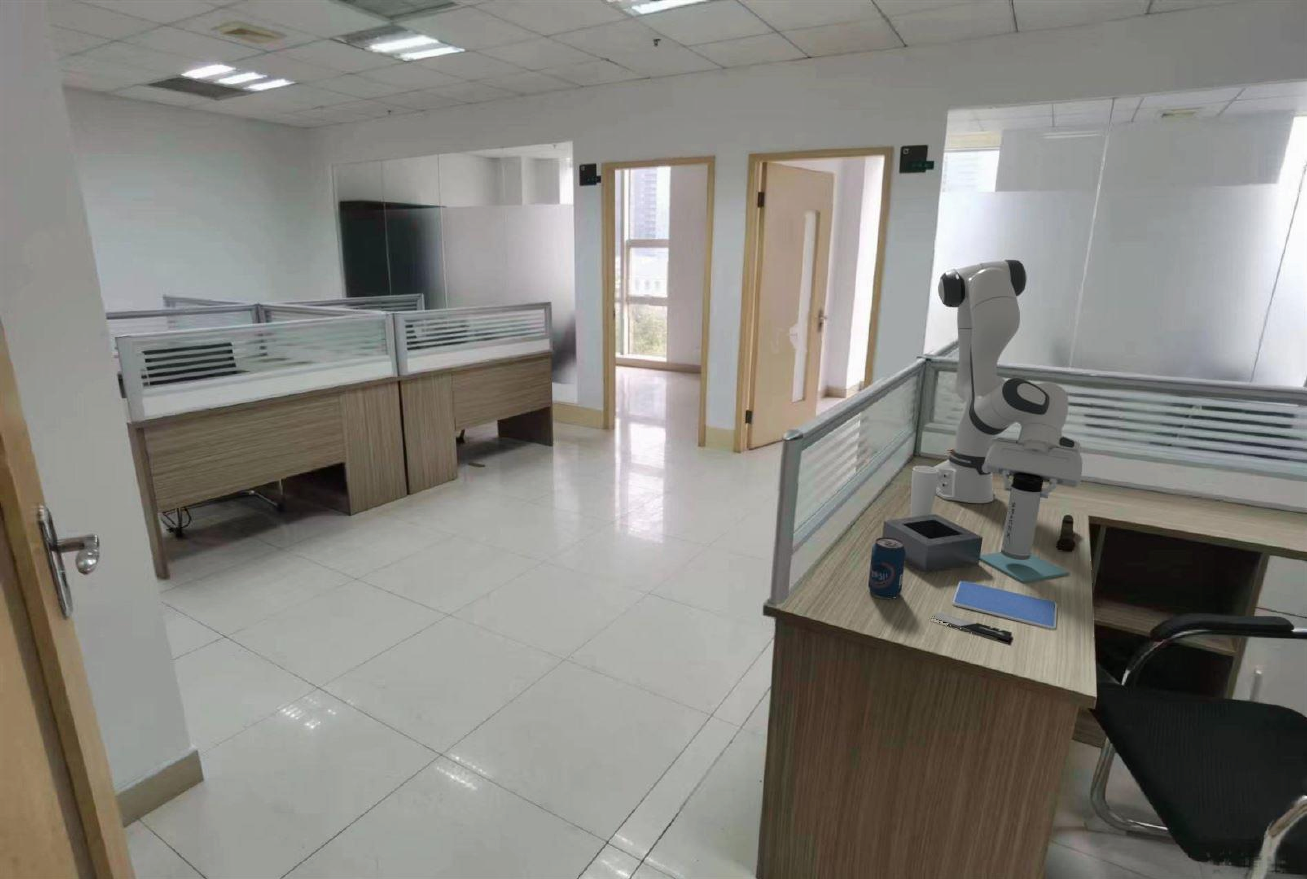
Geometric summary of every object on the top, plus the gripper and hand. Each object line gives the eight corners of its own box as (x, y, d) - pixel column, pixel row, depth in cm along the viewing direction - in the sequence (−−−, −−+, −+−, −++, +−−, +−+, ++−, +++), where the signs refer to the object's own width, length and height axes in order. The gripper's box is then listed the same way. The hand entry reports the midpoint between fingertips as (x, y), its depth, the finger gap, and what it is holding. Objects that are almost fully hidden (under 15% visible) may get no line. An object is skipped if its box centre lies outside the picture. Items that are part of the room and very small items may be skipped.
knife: (930, 618, 138) (935, 610, 141) (929, 623, 138) (934, 615, 141) (1010, 642, 130) (1014, 633, 133) (1010, 646, 130) (1013, 637, 133)
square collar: (881, 546, 174) (883, 521, 172) (932, 538, 179) (935, 513, 177) (924, 573, 159) (927, 545, 157) (978, 564, 164) (982, 537, 162)
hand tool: (1073, 554, 170) (1076, 537, 169) (1055, 550, 173) (1058, 533, 171) (1077, 531, 186) (1080, 515, 184) (1061, 527, 188) (1063, 511, 187)
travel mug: (1026, 551, 165) (1040, 472, 160) (1032, 562, 158) (1046, 479, 154) (998, 547, 166) (1011, 469, 162) (1002, 557, 160) (1016, 476, 156)
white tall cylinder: (933, 518, 193) (939, 467, 189) (932, 526, 187) (938, 474, 183) (908, 514, 196) (914, 464, 192) (906, 522, 190) (911, 470, 186)
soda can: (862, 593, 149) (867, 542, 146) (875, 582, 154) (880, 533, 151) (893, 603, 145) (899, 551, 142) (905, 592, 150) (911, 541, 147)
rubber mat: (976, 558, 167) (976, 555, 167) (1020, 550, 172) (1020, 548, 172) (1022, 583, 155) (1023, 580, 155) (1069, 574, 159) (1069, 572, 159)
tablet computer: (1056, 606, 146) (1057, 600, 145) (1055, 633, 135) (1056, 627, 135) (959, 584, 155) (959, 579, 155) (950, 608, 145) (951, 602, 144)
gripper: (990, 429, 167) (976, 477, 162) (1088, 444, 156) (1076, 496, 150) (991, 443, 172) (977, 490, 166) (1086, 458, 160) (1074, 509, 155)
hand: (1025, 493), depth 158 cm, fingers closed on travel mug, 6 cm apart
